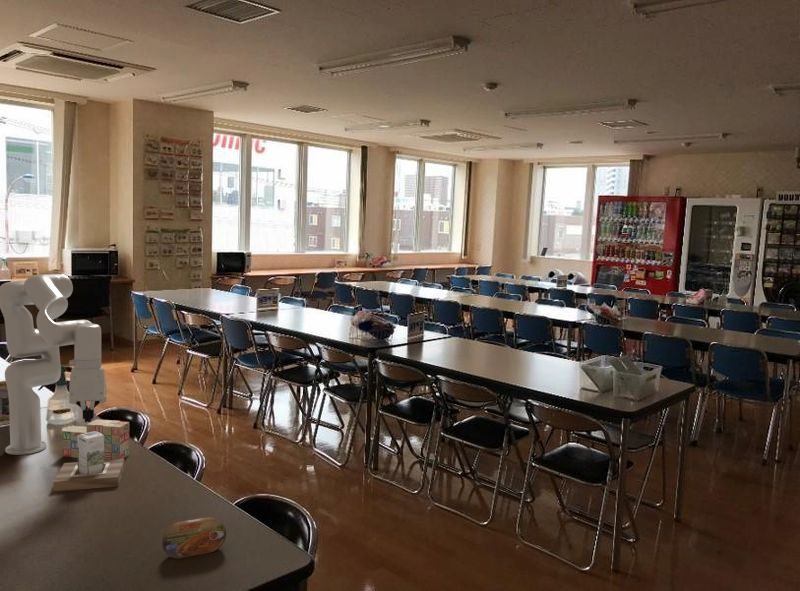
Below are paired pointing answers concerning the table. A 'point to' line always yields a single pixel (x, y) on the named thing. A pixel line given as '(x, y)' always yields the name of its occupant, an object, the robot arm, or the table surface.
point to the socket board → (88, 476)
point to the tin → (193, 537)
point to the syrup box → (90, 453)
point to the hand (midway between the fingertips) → (88, 420)
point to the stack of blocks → (113, 438)
